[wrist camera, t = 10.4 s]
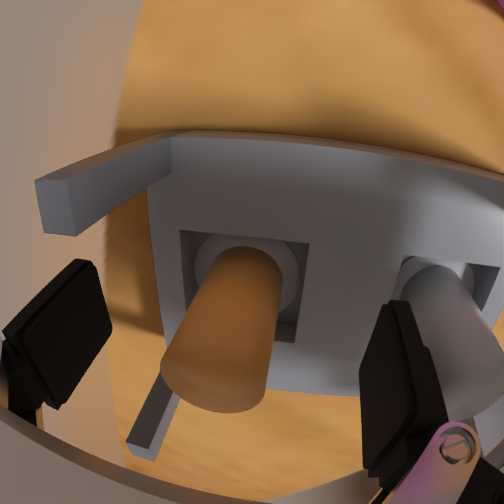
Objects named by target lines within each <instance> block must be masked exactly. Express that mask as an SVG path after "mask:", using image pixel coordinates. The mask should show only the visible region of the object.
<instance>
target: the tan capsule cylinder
mask: <svg viewBox="0 0 504 504" xmlns="http://www.w3.org/2000/svg"><path fill="white" fill-rule="evenodd" d="M282 286H283V275H282V272H281V269H280V267H279V265H278V264H277V262H276V261H275V260H274V259H273V258H272V257H271V256H270V255H269V254H267V253H266V252H264V251H262V250H260V249H257V248H254V247H249V246H236V247H232V248H229V249H227V250H225V251H223V252H222V253H220V254H219V255H218V256H217V257H216V259H215V260H214V262H213V264H212V266H211V267H210V269H209V271H208V273H207V275H206V277H205V278H204V280H203V282H202V284H201V286H200V288H199V290H198V291H197V293H196V295H195V297H194V299H193V301H192V303H191V304H190V306H189V308H188V310H187V312H186V314H185V316H184V318H183V319H182V321H181V323H180V325H179V327H178V329H177V331H176V333H175V335H174V337H173V338H172V340H171V342H170V344H169V346H168V348H167V350H166V352H165V354H164V356H163V358H162V360H161V363H160V370H161V374H162V377H163V379H164V381H165V383H166V384H167V385H168V387H169V388H170V389H171V390H172V391H173V392H174V393H175V394H176V395H178V396H179V397H180V398H182V399H183V400H185V401H187V402H188V403H190V404H192V405H194V406H197V407H199V408H202V409H205V410H209V411H213V412H219V413H237V412H243V411H246V410H249V409H251V408H253V407H255V406H256V405H257V404H259V403H260V401H261V400H262V399H263V397H264V393H265V388H266V383H267V377H268V371H269V366H270V360H271V354H272V348H273V342H274V336H275V330H276V324H277V318H278V311H279V305H280V299H281V292H282Z"/></svg>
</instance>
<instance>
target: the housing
mask: <svg viewBox="0 0 504 504" xmlns="http://www.w3.org/2000/svg"><path fill="white" fill-rule="evenodd" d="M35 186H36V193H37V199H38V204H39V209H40V215H41V220H42V224H43V229H44V233H51V234H59V235H67V236H78V235H79V234H80V233H82V232H83V231H84V230H86V229H87V228H89V227H90V226H91V225H93V224H94V223H95V222H97V221H98V220H100V219H101V218H103V217H104V216H105V215H107V214H108V213H110V212H111V211H113V210H114V209H115V208H117V207H118V206H120V205H121V204H123V203H124V202H126V201H127V200H129V199H130V198H132V197H133V196H135V195H136V194H138V193H139V192H141V191H142V190H144V189H147V202H148V214H149V225H150V235H151V244H152V253H153V262H154V270H155V277H156V285H157V292H158V298H159V305H160V311H161V318H162V324H163V330H164V335H165V341H166V346H167V348H168V346H169V344H170V342H171V340H172V338H173V337H174V335H175V333H176V331H177V329H178V327H179V325H180V323H181V321H182V319H183V318H184V316H185V314H186V312H187V310H188V308H189V306H190V304H191V303H192V301H193V299H194V297H195V295H196V293H197V291H198V290H199V288H200V286H201V284H202V282H203V280H204V278H205V277H206V275H207V273H208V271H209V269H210V267H211V266H212V264H213V262H214V260H215V259H216V257H217V256H218V255H219V254H220V253H222V252H223V251H225V250H227V249H229V248H232V247H236V246H249V247H254V248H257V249H260V250H262V251H264V252H266V253H267V254H269V255H270V256H271V257H272V258H273V259H274V260H275V261H276V262H277V264H278V265H279V267H280V269H281V272H282V275H283V286H282V292H281V299H280V305H279V311H278V318H277V324H276V330H275V336H274V342H273V348H272V354H271V360H270V366H269V371H268V377H267V383H266V388H267V389H275V390H283V391H292V392H301V393H312V394H324V395H337V396H355V397H360V389H359V367H360V364H361V361H362V359H363V356H364V354H365V351H366V348H367V346H368V343H369V340H370V338H371V335H372V332H373V329H374V327H375V324H376V321H377V318H378V315H379V312H380V309H381V307H382V305H383V304H388V302H389V300H401V301H408V302H409V303H410V306H411V308H412V311H413V314H414V317H415V320H416V323H417V326H418V329H419V332H420V335H421V339H422V342H423V345H424V346H427V347H428V348H429V350H430V352H431V355H432V359H433V362H434V365H435V369H436V372H437V376H438V379H439V383H440V387H441V390H442V394H443V398H444V402H445V406H446V410H447V414H448V419H449V422H453V421H455V422H462V423H464V424H467V425H469V426H470V427H471V428H472V429H474V431H475V432H476V433H477V429H476V426H475V422H474V419H473V416H475V415H477V414H479V413H481V412H483V411H484V410H485V409H487V408H489V407H490V406H491V405H493V404H494V403H495V402H496V401H497V400H498V399H499V398H500V397H501V396H502V395H503V394H504V352H503V350H502V348H501V347H500V345H499V343H498V341H497V339H496V337H495V335H494V334H493V332H492V329H493V327H494V325H495V323H496V321H497V319H498V317H499V315H500V313H501V311H502V309H503V307H504V175H501V174H498V173H495V172H491V171H488V170H484V169H481V168H477V167H473V166H469V165H466V164H462V163H458V162H454V161H450V160H445V159H441V158H437V157H432V156H428V155H423V154H418V153H413V152H408V151H403V150H398V149H393V148H387V147H381V146H375V145H369V144H363V143H356V142H349V141H342V140H334V139H326V138H317V137H308V136H298V135H287V134H274V133H260V132H242V131H213V130H169V131H165V132H162V133H159V134H155V135H152V136H149V137H146V138H143V139H139V140H136V141H133V142H130V143H127V144H124V145H121V146H119V147H116V148H113V149H110V150H107V151H104V152H102V153H99V154H96V155H94V156H91V157H88V158H86V159H83V160H81V161H78V162H76V163H73V164H71V165H68V166H66V167H64V168H61V169H59V170H57V171H55V172H52V173H50V174H47V175H46V176H43V177H41V178H39V179H36V180H35ZM179 400H180V397H179V396H178V395H176V394H175V393H174V392H173V391H172V390H171V389H170V388H169V387H168V385H167V384H166V383H165V381H164V379H163V377H162V374H161V371H160V373H159V375H158V377H157V379H156V381H155V383H154V385H153V387H152V389H151V391H150V393H149V395H148V397H147V399H146V401H145V403H144V405H143V407H142V409H141V411H140V413H139V415H138V417H137V419H136V421H135V423H134V425H133V427H132V430H131V432H130V434H129V436H128V438H127V440H126V444H127V445H128V447H129V449H130V450H131V452H132V454H133V455H136V456H139V457H142V458H145V459H148V460H151V461H154V462H155V460H156V457H157V455H158V452H159V450H160V447H161V445H162V442H163V440H164V437H165V435H166V432H167V430H168V427H169V425H170V422H171V420H172V418H173V415H174V413H175V410H176V408H177V405H178V403H179ZM477 435H478V433H477ZM480 457H482V458H484V456H483V451H482V448H481V453H480Z"/></svg>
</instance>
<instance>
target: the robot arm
mask: <svg viewBox="0 0 504 504" xmlns="http://www.w3.org/2000/svg"><path fill="white" fill-rule="evenodd" d="M2 332H3V334H4V336H5V338H6V339H5V340H4V341H2V339H1V337H0V504H271V503H263V502H256V501H249V500H243V499H237V498H231V497H226V496H221V495H216V494H212V493H207V492H203V491H199V490H195V489H191V488H187V487H183V486H179V485H176V484H172V483H169V482H165V481H162V480H159V479H155V478H152V477H149V476H146V475H143V474H140V473H137V472H135V471H132V470H129V469H126V468H124V467H121V466H118V465H116V464H113V463H111V462H108V461H106V460H103V459H101V458H99V457H96V456H94V455H91V454H89V453H87V452H85V451H83V450H80V449H78V448H76V447H74V446H72V445H70V444H68V443H66V442H64V441H62V440H60V439H58V438H56V437H54V436H52V435H50V434H48V433H47V432H45V431H44V424H43V414H42V406H41V405H42V403H43V402H45V403H46V404H47V405H48V406H50V407H52V408H54V409H56V410H59V408H60V406H61V405H62V404H64V403H66V402H67V400H68V399H69V397H70V396H71V394H72V392H73V391H74V389H75V388H76V386H77V385H78V383H79V382H80V380H81V378H82V377H83V376H84V374H85V372H86V371H87V369H88V368H89V366H90V365H91V363H92V362H93V360H94V359H95V357H96V356H97V354H98V353H99V352H100V350H101V348H102V347H103V346H104V344H105V343H106V341H107V340H108V338H109V337H110V335H111V333H112V323H111V320H110V317H109V313H108V310H107V306H106V303H105V299H104V296H103V292H102V288H101V284H100V280H99V277H98V272H97V269H96V267H95V266H94V265H93V263H92V262H91V261H89V260H83V259H74V260H73V261H72V262H71V263H70V264H69V265H67V266H66V267H65V268H64V269H63V270H62V271H61V272H60V273H59V274H58V275H57V276H56V277H55V278H54V279H52V280H51V282H49V283H48V284H47V285H46V286H45V287H44V288H43V289H42V290H41V291H40V292H39V293H38V294H37V295H36V296H35V297H34V298H33V299H32V300H31V301H30V302H29V303H28V304H27V305H26V306H25V307H24V308H23V309H22V310H21V311H20V312H19V313H18V314H17V315H16V316H15V317H14V319H13V320H12V321H11V322H10V323H9V324H8V325H7V326H6V327H5V328H4V329H3V330H2ZM359 389H360V404H361V423H362V455H363V468H364V469H368V478H369V477H370V478H373V477H379V486H380V487H382V488H381V489H380V490H379V492H378V493H377V494H376V495H375V496H374V498H373V499H372V500H371V501H370V502H369V503H368V504H504V473H502V472H501V471H500V470H498V469H497V468H496V467H494V466H493V465H491V464H490V463H489V462H487V461H486V460H485V459H483V458H482V457H480V453H481V443H480V439H479V436H478V435H477V433H476V432H475V431H474V429H472V428H471V427H470V426H469V425H467V424H464V423H462V422H455V421H453V422H449V419H448V414H447V410H446V406H445V402H444V398H443V394H442V390H441V387H440V383H439V379H438V376H437V372H436V369H435V365H434V362H433V359H432V355H431V352H430V350H429V348H428V347H427V346H424V345H423V342H422V339H421V335H420V332H419V329H418V326H417V323H416V320H415V317H414V314H413V311H412V308H411V306H410V303H409V302H408V301H401V300H389V302H388V304H383V305H382V307H381V309H380V312H379V315H378V318H377V321H376V324H375V327H374V329H373V332H372V335H371V338H370V340H369V343H368V346H367V348H366V351H365V354H364V356H363V359H362V361H361V364H360V367H359Z"/></svg>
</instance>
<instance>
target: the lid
mask: <svg viewBox="0 0 504 504" xmlns="http://www.w3.org/2000/svg"><path fill="white" fill-rule="evenodd" d="M483 459H485V460H486V461H487V462H489V463H490V464H491V465H493V466H494V467H496V468H497V469H498V470H500V469H501V468H502V467H503V468H502V469H501V470H500V471H501V472H502V473H504V439H503V440H502V441H501V442H500V443H499V444H498V445H497V446H496V447H495V448H494V449H493V450H492V451H491V452H490V453H489V454H488V455H487V456H485V457H484V458H483Z"/></svg>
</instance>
